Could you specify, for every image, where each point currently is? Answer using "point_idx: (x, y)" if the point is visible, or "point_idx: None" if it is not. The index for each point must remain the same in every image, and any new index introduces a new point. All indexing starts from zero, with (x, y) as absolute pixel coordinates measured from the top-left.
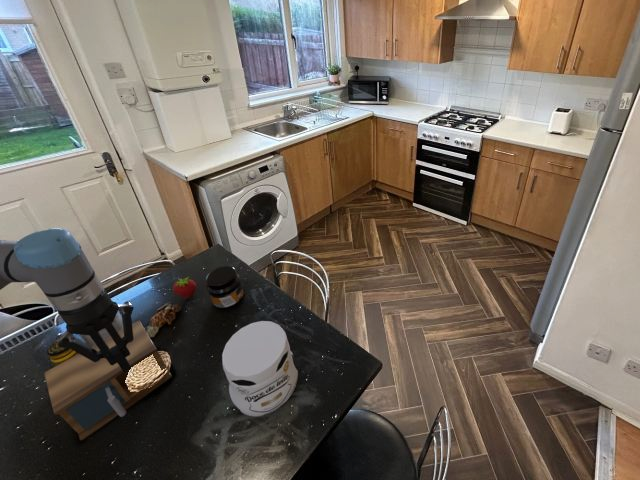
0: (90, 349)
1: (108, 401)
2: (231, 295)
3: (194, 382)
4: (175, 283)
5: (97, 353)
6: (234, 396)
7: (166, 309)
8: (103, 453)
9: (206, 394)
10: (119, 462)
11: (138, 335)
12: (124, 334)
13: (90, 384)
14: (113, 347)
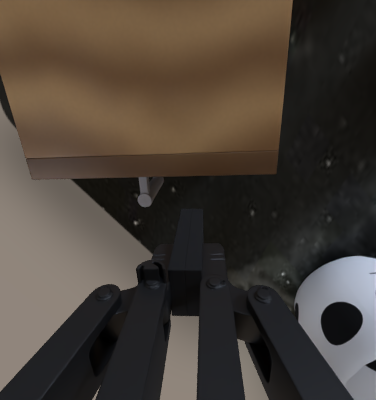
0: (79, 388)
1: (139, 203)
2: None
3: (271, 193)
4: None
5: (117, 329)
6: (311, 339)
7: None
8: (125, 200)
9: (273, 230)
10: (142, 230)
11: (260, 53)
12: (255, 321)
13: (105, 159)
14: (183, 276)
